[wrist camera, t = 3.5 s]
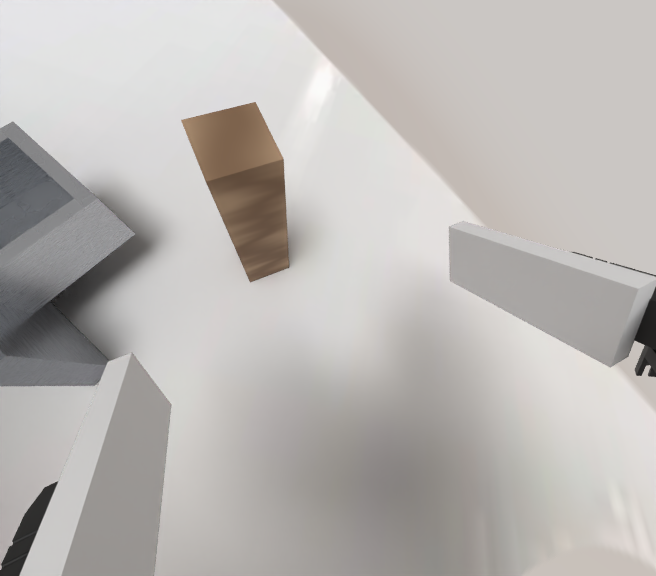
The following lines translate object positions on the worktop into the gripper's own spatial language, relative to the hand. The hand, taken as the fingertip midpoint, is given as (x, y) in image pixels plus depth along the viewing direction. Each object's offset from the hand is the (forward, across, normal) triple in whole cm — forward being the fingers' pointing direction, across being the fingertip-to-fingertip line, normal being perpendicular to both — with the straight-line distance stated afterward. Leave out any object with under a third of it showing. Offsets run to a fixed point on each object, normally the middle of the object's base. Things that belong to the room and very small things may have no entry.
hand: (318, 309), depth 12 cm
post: (+18, 0, -4) cm, 19 cm away
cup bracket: (+23, -15, 0) cm, 28 cm away
